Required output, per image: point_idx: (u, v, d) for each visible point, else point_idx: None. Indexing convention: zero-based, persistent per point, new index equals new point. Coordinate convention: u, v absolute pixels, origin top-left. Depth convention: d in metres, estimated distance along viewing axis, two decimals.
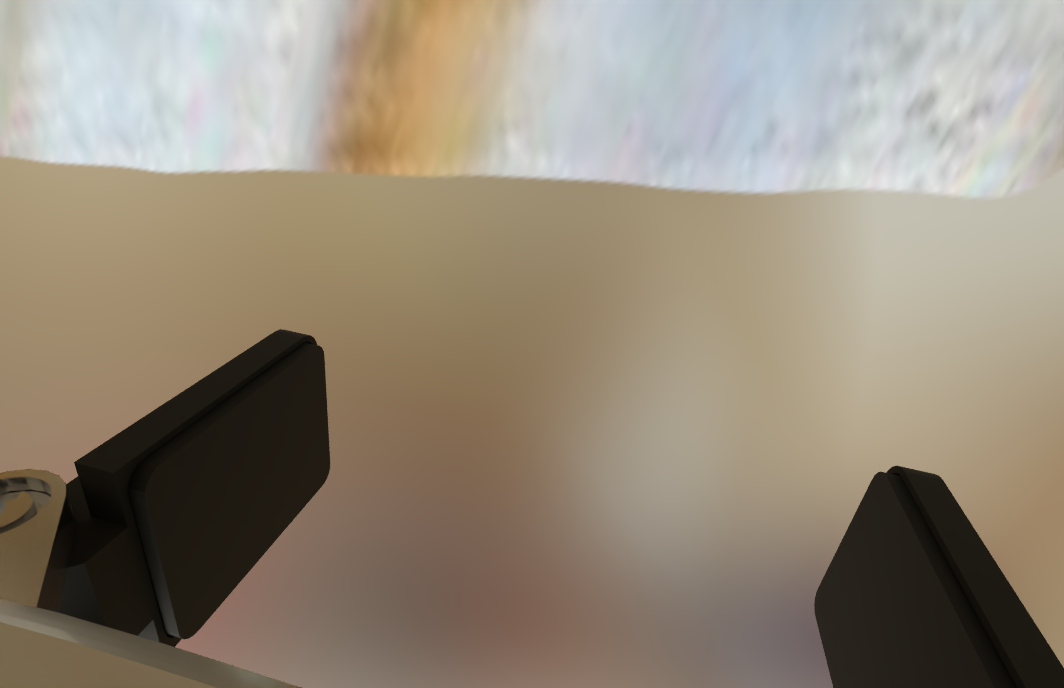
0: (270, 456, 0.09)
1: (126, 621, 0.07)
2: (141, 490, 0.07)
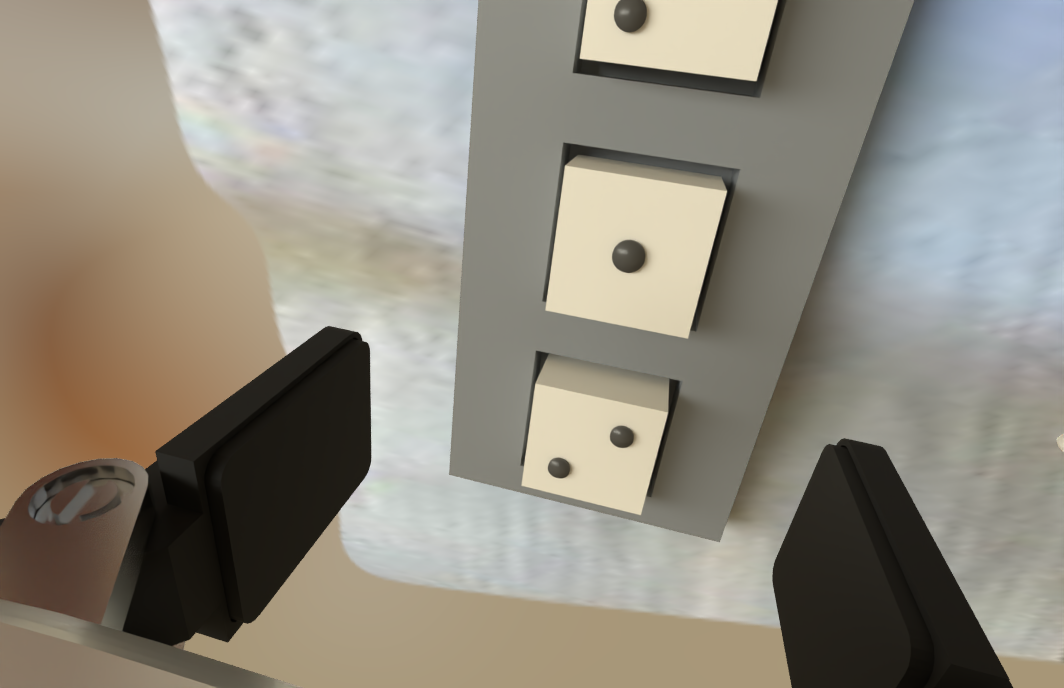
0: (322, 448, 0.09)
1: (198, 604, 0.07)
2: (216, 478, 0.07)
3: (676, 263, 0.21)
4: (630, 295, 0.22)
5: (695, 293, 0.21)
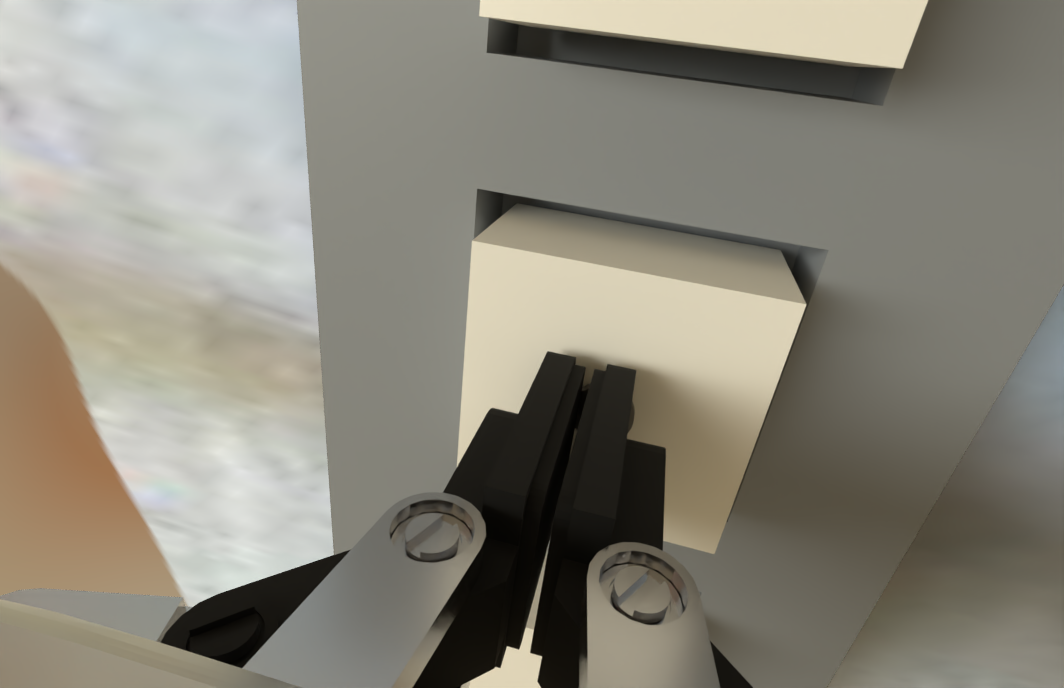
0: (560, 474, 0.09)
1: (501, 633, 0.07)
2: (534, 511, 0.07)
3: (695, 429, 0.11)
4: None
5: (731, 483, 0.11)
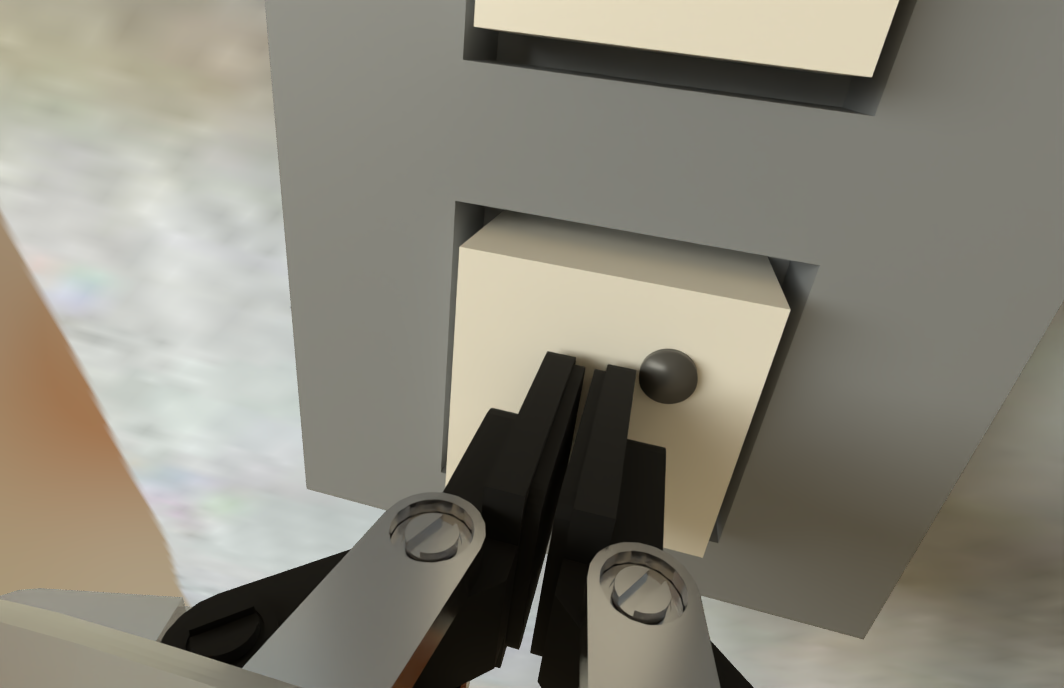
0: (560, 473, 0.09)
1: (501, 633, 0.07)
2: (534, 511, 0.07)
3: None
4: None
5: None
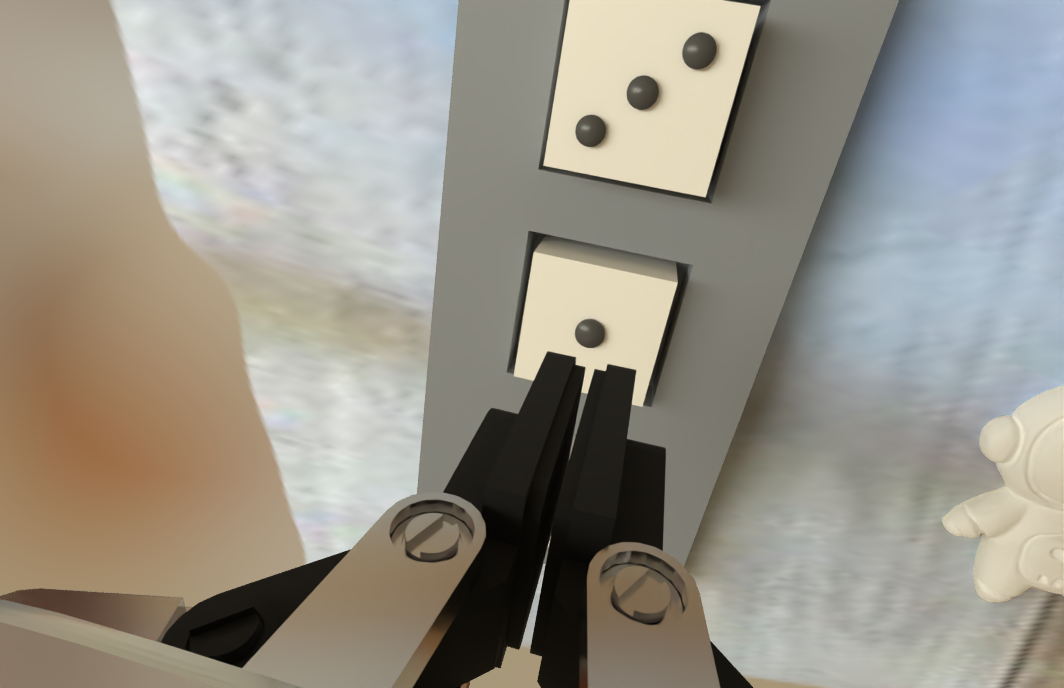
0: (560, 474, 0.09)
1: (501, 634, 0.07)
2: (534, 511, 0.07)
3: (632, 341, 0.23)
4: (591, 367, 0.24)
5: (649, 368, 0.23)
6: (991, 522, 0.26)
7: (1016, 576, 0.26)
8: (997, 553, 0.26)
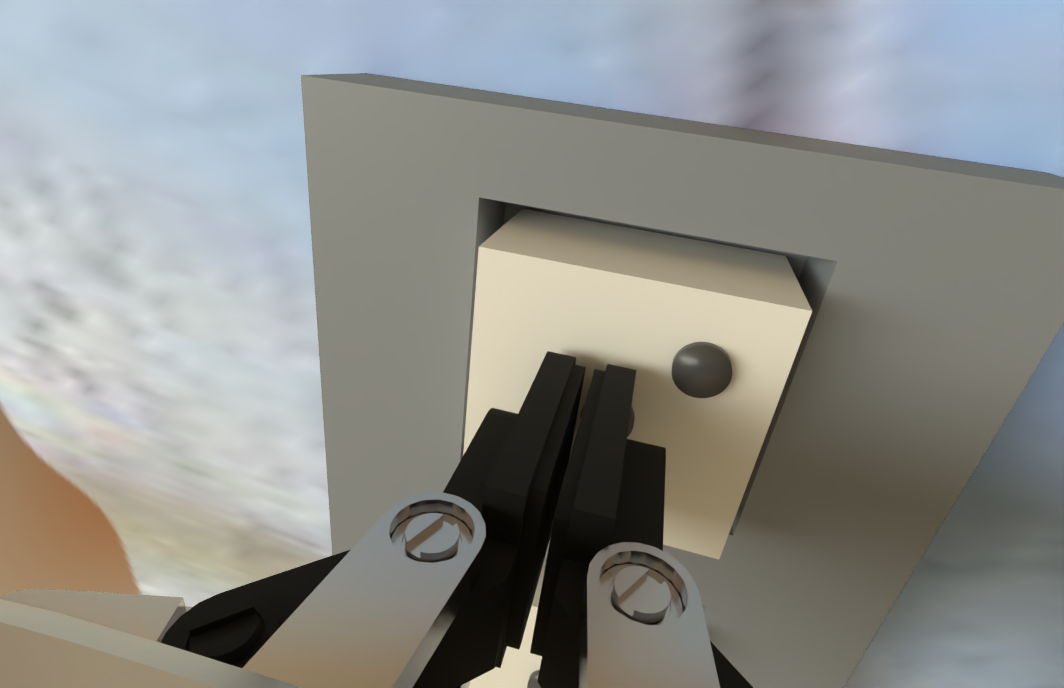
0: (560, 474, 0.09)
1: (501, 634, 0.07)
2: (534, 511, 0.07)
3: None
4: None
5: None
6: None
7: None
8: None
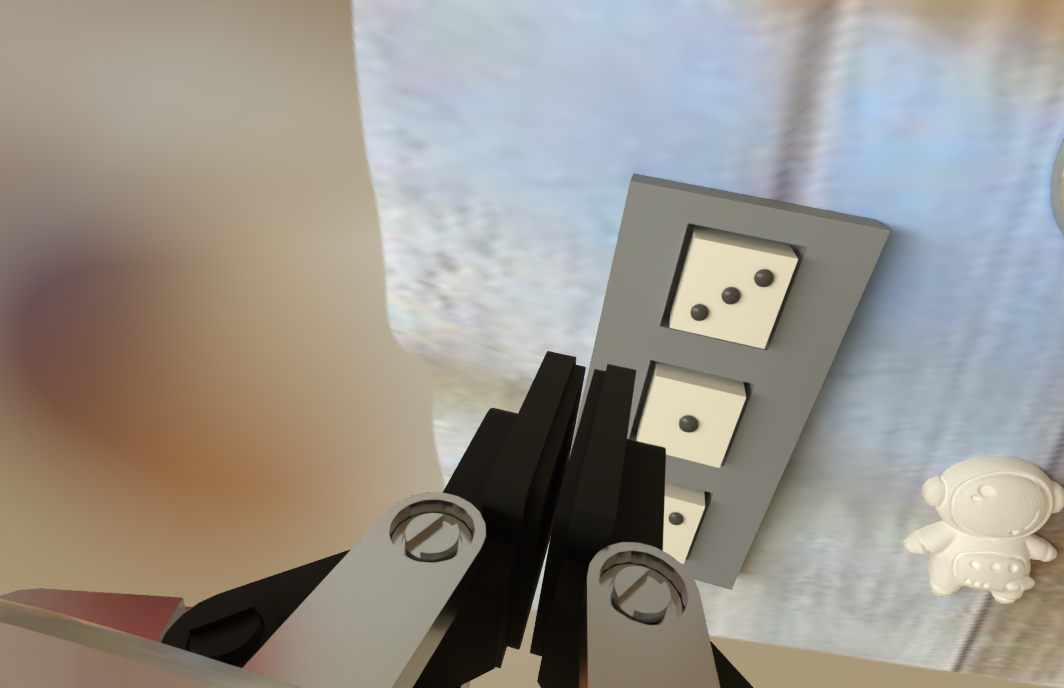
0: (560, 474, 0.09)
1: (502, 634, 0.07)
2: (534, 511, 0.07)
3: (715, 429, 0.37)
4: (687, 443, 0.38)
5: (725, 445, 0.37)
6: (932, 544, 0.39)
7: (952, 579, 0.40)
8: (939, 564, 0.40)
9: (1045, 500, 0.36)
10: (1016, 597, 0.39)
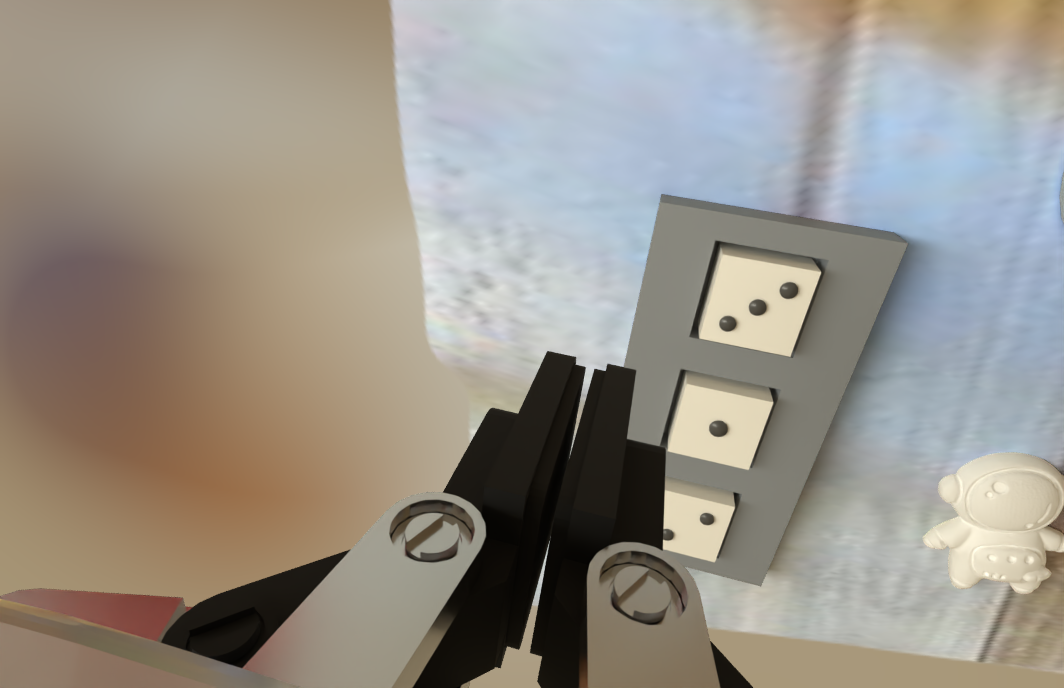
0: (560, 474, 0.09)
1: (502, 634, 0.07)
2: (534, 511, 0.07)
3: (744, 433, 0.39)
4: (717, 447, 0.40)
5: (754, 448, 0.39)
6: (950, 539, 0.41)
7: (971, 572, 0.41)
8: (958, 558, 0.42)
9: (1056, 494, 0.38)
10: (1034, 587, 0.41)
